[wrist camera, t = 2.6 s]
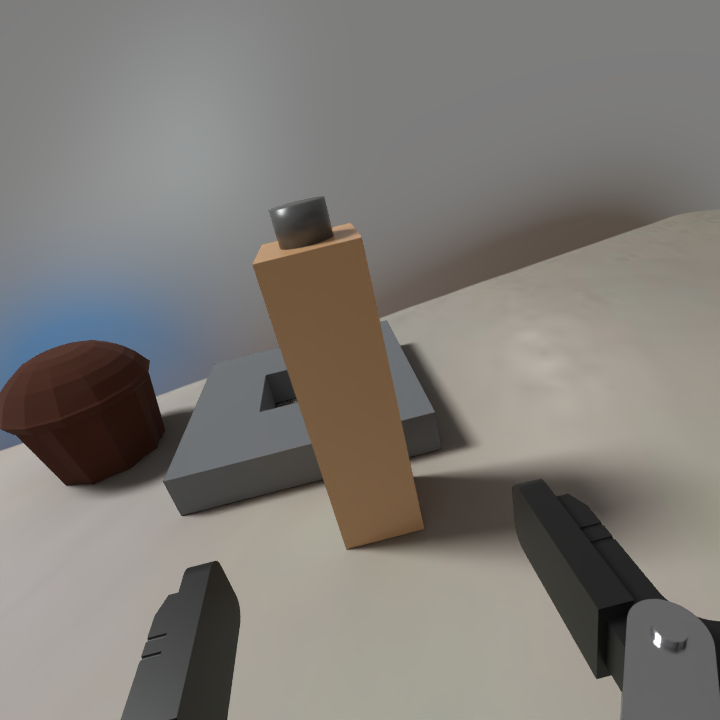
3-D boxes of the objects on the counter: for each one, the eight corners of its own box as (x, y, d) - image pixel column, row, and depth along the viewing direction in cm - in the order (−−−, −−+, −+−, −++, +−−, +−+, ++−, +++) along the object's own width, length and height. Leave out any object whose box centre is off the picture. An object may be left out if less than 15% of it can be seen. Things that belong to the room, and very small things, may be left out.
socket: (392, 346, 46) (386, 320, 45) (441, 448, 30) (435, 412, 28) (224, 389, 46) (214, 363, 44) (181, 515, 29) (162, 481, 28)
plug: (407, 476, 28) (342, 188, 21) (424, 529, 24) (352, 194, 17) (340, 494, 28) (251, 210, 20) (346, 549, 24) (238, 222, 16)
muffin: (192, 403, 44) (150, 311, 40) (161, 474, 34) (102, 361, 30) (76, 433, 44) (22, 344, 40) (11, 513, 34) (-71, 405, 30)
